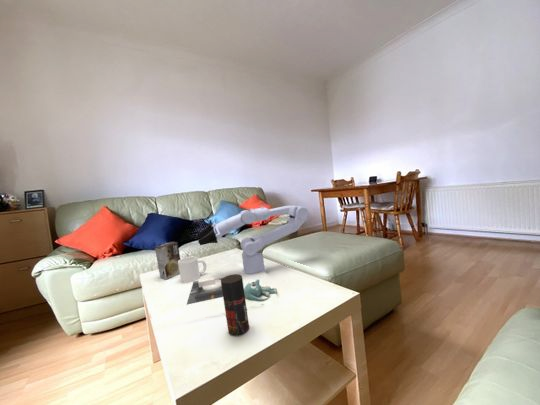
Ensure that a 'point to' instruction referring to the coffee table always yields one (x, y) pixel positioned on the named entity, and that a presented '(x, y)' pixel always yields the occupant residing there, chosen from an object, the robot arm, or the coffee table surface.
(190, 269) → the mug
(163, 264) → the coffee box
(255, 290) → the stuffed animal
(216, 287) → the dial
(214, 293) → the panel
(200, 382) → the coffee table surface
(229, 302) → the deodorant
